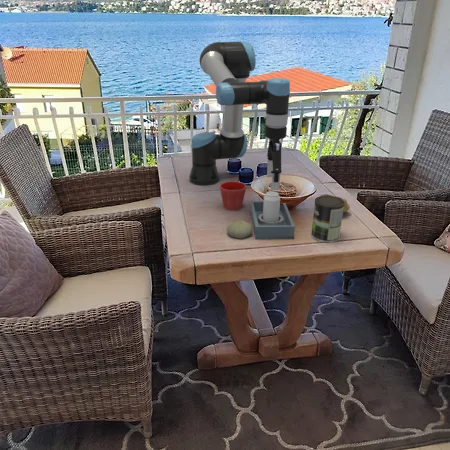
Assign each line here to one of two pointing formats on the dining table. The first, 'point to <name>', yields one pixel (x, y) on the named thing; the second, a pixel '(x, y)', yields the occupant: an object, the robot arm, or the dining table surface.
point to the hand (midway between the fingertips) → (272, 183)
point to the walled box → (271, 231)
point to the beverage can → (271, 206)
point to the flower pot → (232, 194)
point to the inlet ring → (265, 223)
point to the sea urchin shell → (239, 229)
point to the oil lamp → (346, 205)
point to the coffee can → (327, 218)
